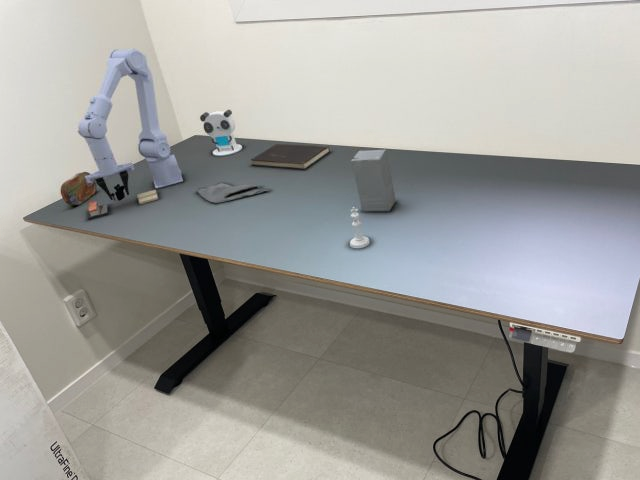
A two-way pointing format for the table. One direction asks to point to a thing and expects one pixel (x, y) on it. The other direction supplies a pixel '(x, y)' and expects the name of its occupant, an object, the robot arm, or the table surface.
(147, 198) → the napkin
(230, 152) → the panda figurine
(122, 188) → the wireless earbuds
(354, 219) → the chess piece
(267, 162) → the hardcover book
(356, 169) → the cosmetic box
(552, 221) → the table surface
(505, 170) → the table surface
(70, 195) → the tin
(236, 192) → the cloth
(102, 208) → the sushi plate
